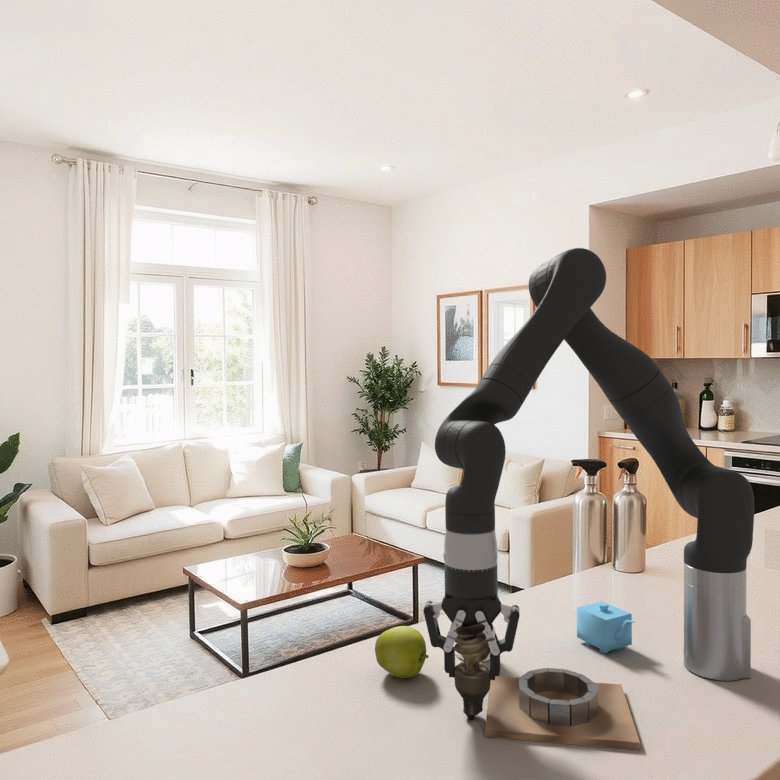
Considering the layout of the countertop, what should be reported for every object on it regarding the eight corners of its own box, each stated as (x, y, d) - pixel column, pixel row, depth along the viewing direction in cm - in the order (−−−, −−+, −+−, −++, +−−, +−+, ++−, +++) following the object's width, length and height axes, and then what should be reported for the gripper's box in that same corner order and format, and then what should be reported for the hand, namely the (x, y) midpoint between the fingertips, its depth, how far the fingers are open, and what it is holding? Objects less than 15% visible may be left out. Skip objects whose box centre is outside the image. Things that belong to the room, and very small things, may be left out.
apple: (423, 691, 105) (422, 640, 104) (368, 682, 108) (367, 633, 108) (437, 669, 112) (436, 622, 112) (386, 661, 115) (385, 615, 115)
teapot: (647, 656, 115) (647, 613, 115) (621, 664, 113) (621, 620, 112) (595, 632, 126) (595, 592, 126) (571, 639, 123) (570, 598, 123)
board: (621, 690, 104) (621, 684, 103) (639, 750, 88) (639, 742, 88) (490, 681, 107) (490, 675, 107) (485, 736, 92) (485, 729, 92)
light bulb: (450, 707, 99) (449, 607, 99) (487, 705, 100) (486, 605, 99) (457, 728, 94) (456, 622, 93) (496, 725, 94) (495, 620, 94)
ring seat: (592, 690, 102) (592, 670, 102) (601, 729, 91) (601, 707, 91) (519, 685, 104) (518, 666, 104) (519, 722, 93) (519, 701, 93)
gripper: (521, 554, 98) (523, 668, 99) (424, 550, 101) (426, 661, 102) (522, 569, 91) (523, 692, 92) (417, 565, 94) (419, 685, 94)
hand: (472, 675), depth 97 cm, fingers closed on light bulb, 5 cm apart
